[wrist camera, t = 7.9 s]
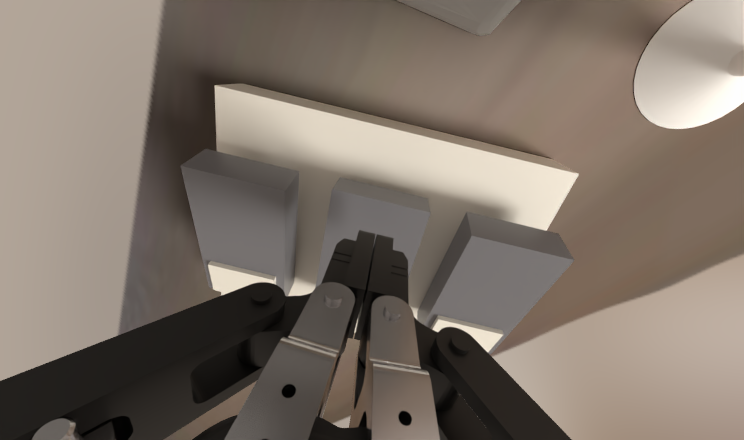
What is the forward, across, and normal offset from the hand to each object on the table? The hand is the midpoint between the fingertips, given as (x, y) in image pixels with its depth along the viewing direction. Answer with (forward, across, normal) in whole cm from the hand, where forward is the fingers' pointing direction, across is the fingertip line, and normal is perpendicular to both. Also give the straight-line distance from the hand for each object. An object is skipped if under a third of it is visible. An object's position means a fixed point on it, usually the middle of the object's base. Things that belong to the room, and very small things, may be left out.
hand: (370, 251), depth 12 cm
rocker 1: (+4, +7, +3) cm, 8 cm away
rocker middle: (+4, 0, +3) cm, 5 cm away
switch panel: (+8, 0, +3) cm, 9 cm away
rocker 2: (+4, -7, +3) cm, 9 cm away
